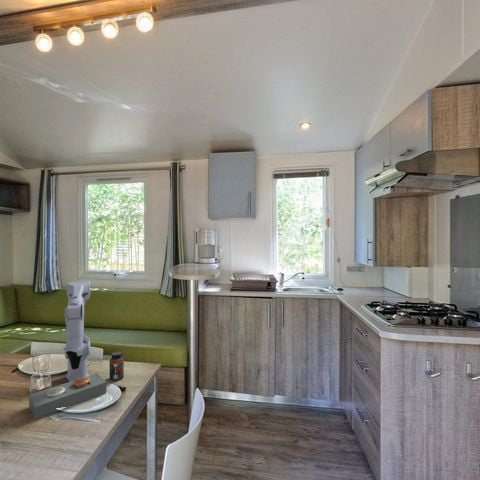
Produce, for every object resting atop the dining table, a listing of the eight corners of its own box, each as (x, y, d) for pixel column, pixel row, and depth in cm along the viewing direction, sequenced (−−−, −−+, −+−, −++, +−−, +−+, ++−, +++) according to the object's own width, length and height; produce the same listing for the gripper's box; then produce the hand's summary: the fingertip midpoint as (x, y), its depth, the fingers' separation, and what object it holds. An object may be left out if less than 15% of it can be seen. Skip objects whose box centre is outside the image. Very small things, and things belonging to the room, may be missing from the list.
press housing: (35, 419, 101) (35, 407, 101) (29, 406, 108) (29, 394, 108) (106, 393, 118) (106, 382, 118) (96, 383, 125) (96, 373, 125)
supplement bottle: (118, 382, 126) (118, 356, 126) (106, 380, 128) (106, 355, 127) (126, 375, 132) (126, 351, 132) (115, 374, 133) (114, 350, 133)
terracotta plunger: (71, 391, 116) (71, 380, 116) (87, 385, 120) (87, 375, 120) (76, 397, 112) (75, 385, 112) (92, 391, 116) (92, 380, 116)
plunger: (45, 402, 110) (44, 391, 110) (62, 396, 114) (62, 385, 114) (48, 409, 106) (48, 397, 106) (67, 402, 110) (67, 391, 110)
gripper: (58, 333, 119) (59, 366, 119) (68, 341, 109) (69, 377, 109) (77, 329, 124) (77, 361, 124) (88, 337, 114) (89, 371, 114)
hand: (75, 368), depth 117 cm, fingers closed
